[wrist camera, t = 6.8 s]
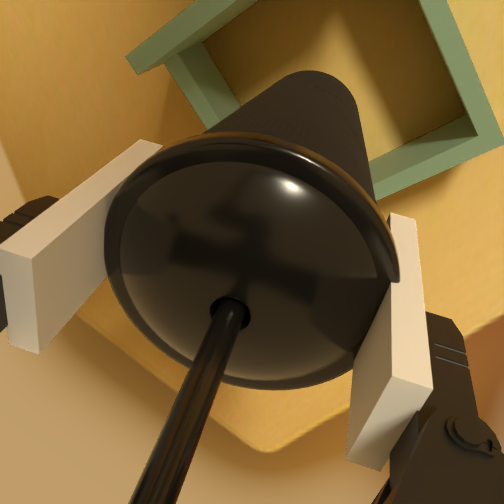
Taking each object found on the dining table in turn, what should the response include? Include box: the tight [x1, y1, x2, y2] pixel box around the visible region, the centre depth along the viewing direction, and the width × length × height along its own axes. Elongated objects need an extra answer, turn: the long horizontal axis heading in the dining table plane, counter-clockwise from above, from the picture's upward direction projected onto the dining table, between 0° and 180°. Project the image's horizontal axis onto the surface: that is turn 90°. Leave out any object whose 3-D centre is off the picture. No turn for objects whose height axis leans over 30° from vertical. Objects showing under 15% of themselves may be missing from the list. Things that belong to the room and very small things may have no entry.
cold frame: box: [125, 0, 504, 201], centre depth 30 cm, size 16×16×9 cm
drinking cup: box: [104, 71, 400, 504], centre depth 15 cm, size 8×8×20 cm
